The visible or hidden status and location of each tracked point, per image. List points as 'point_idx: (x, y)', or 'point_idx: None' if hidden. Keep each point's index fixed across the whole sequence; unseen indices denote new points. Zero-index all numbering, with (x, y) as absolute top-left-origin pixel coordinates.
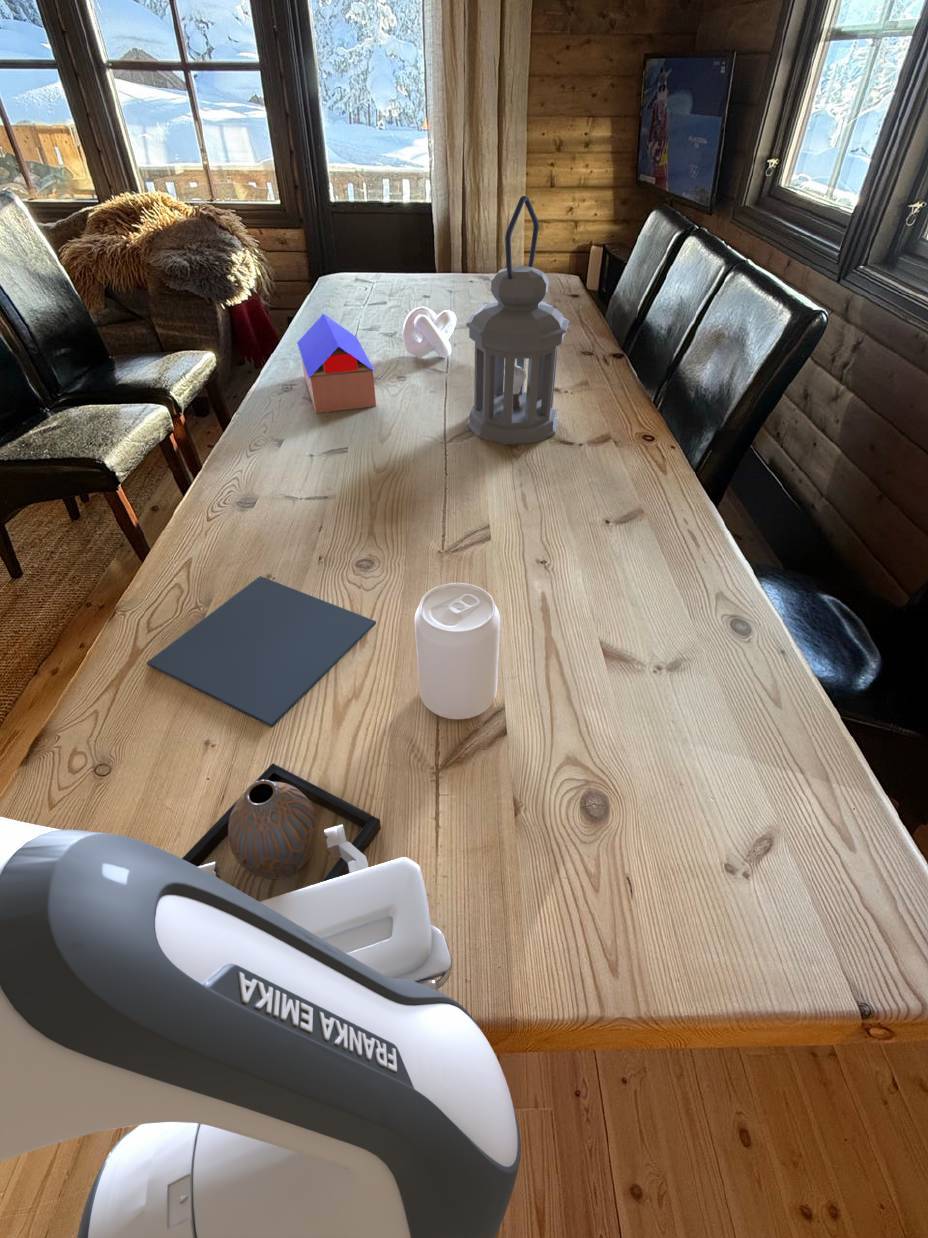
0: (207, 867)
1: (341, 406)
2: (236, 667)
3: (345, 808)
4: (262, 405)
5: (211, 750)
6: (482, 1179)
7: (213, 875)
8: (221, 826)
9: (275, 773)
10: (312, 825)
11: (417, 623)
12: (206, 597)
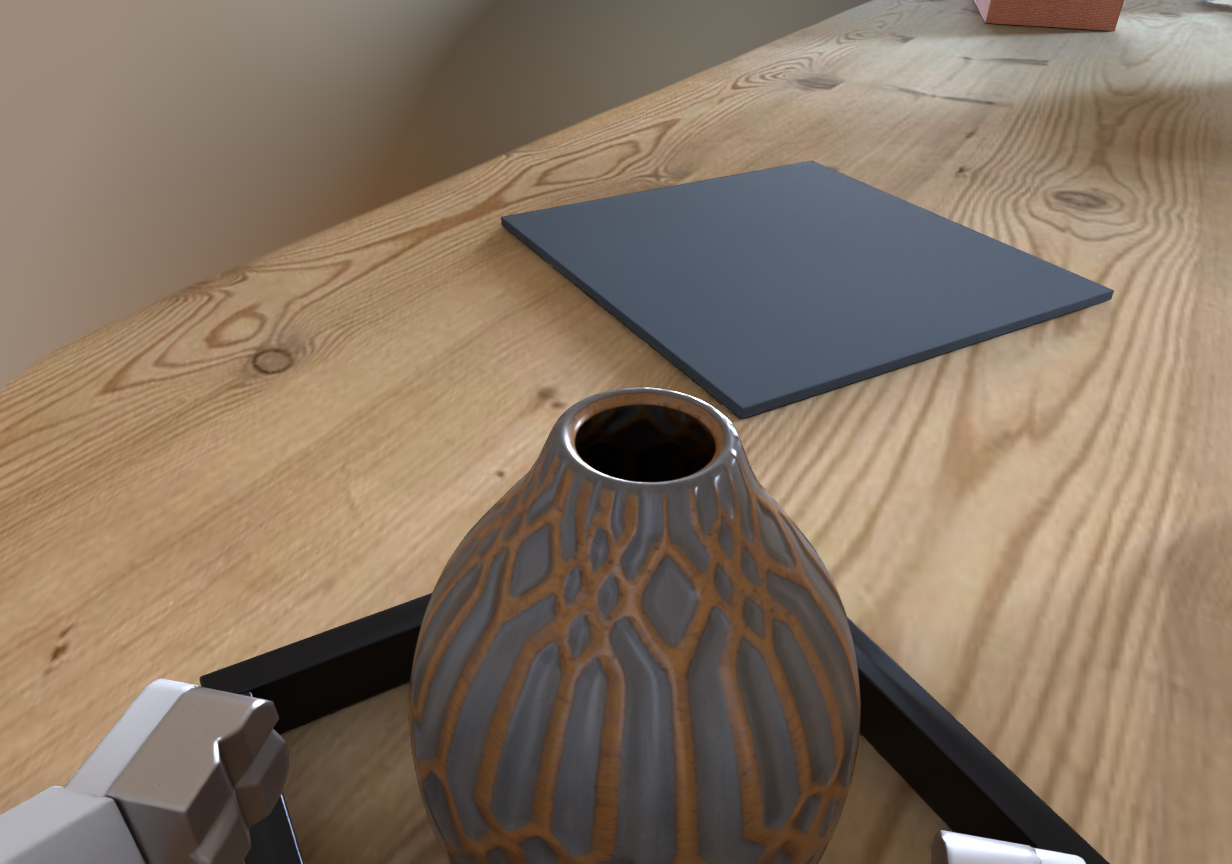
0: (206, 708)
1: (1041, 18)
2: (695, 274)
3: (976, 772)
4: (883, 6)
5: (547, 413)
6: None
7: (195, 770)
8: None
9: None
10: (841, 769)
11: None
12: (680, 168)
